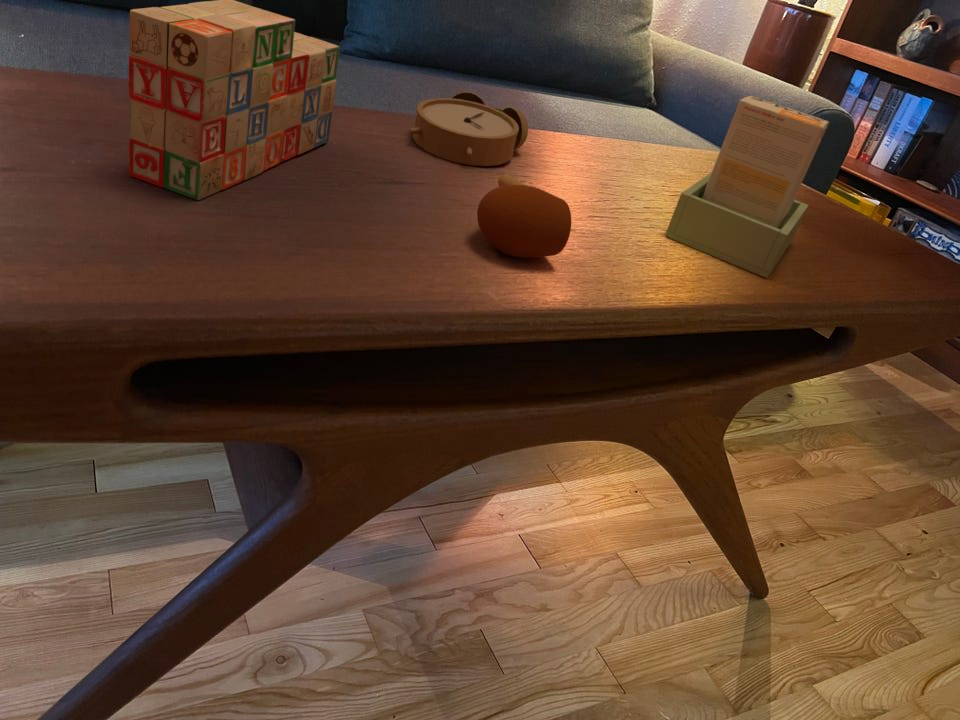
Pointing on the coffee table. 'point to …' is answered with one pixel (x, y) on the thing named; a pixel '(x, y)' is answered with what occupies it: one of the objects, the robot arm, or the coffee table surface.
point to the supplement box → (764, 160)
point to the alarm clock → (469, 130)
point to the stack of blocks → (223, 94)
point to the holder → (731, 231)
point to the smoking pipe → (524, 219)
